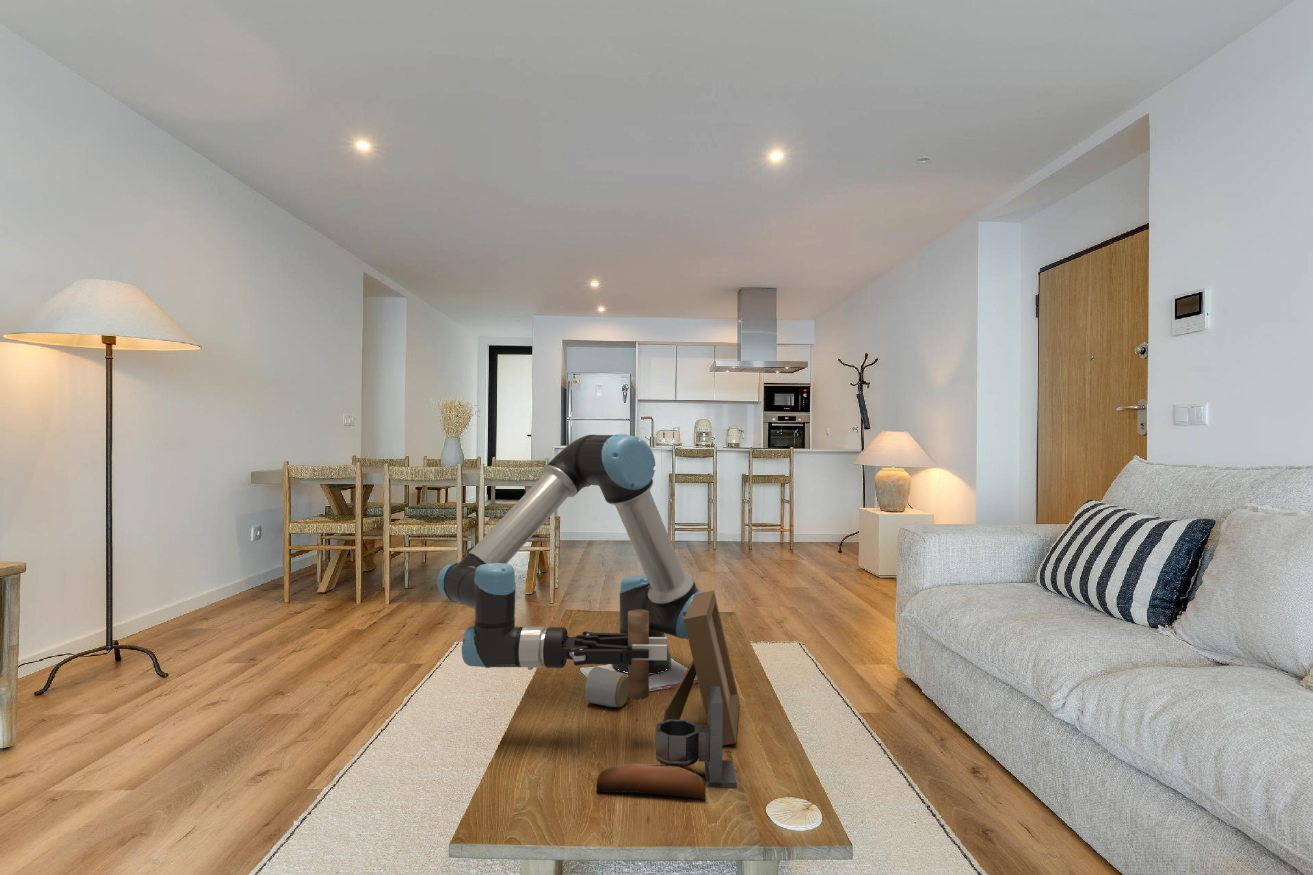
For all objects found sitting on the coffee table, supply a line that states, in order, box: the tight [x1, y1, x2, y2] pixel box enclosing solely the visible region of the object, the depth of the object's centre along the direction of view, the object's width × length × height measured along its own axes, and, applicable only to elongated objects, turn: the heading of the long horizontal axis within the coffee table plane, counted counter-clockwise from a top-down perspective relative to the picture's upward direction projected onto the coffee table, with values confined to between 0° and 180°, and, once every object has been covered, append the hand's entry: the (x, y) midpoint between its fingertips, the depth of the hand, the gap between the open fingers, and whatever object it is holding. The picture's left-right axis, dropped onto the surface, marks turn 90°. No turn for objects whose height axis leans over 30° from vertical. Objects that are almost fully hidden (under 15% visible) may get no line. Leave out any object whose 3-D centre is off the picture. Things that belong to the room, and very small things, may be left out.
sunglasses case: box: [596, 762, 706, 801], centre depth 115 cm, size 18×7×7 cm
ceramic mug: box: [584, 666, 629, 708], centre depth 152 cm, size 11×8×8 cm
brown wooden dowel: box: [627, 609, 650, 700], centre depth 131 cm, size 4×4×16 cm
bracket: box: [655, 686, 738, 788], centre depth 119 cm, size 14×8×14 cm, turn 89°
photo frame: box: [662, 590, 741, 746], centre depth 141 cm, size 15×22×25 cm
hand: (666, 648), depth 131 cm, fingers closed on brown wooden dowel, 4 cm apart
